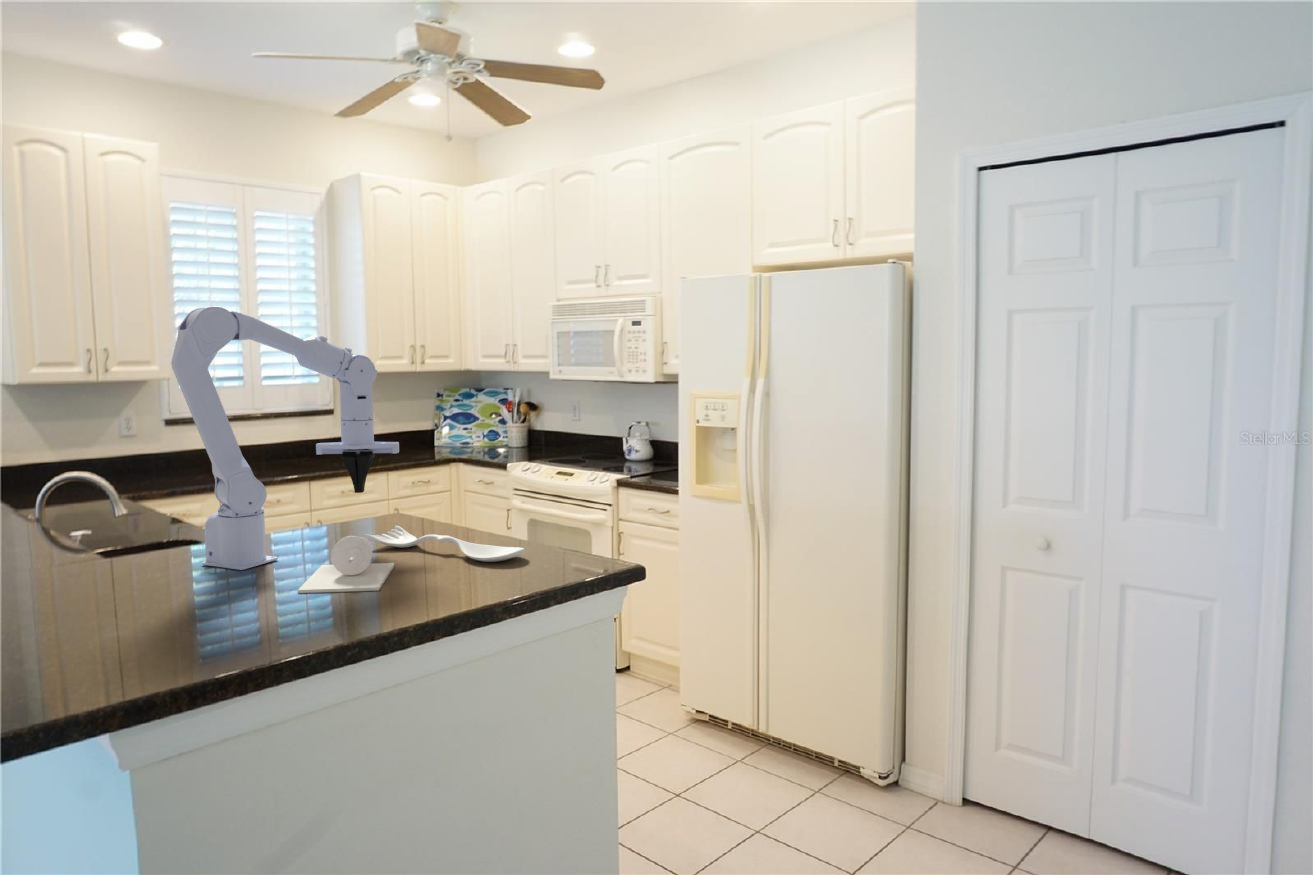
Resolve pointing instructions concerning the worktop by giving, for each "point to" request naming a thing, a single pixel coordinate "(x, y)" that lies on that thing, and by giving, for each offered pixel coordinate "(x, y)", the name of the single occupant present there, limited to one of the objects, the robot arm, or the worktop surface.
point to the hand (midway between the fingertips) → (359, 491)
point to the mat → (347, 579)
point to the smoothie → (352, 555)
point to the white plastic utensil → (469, 549)
